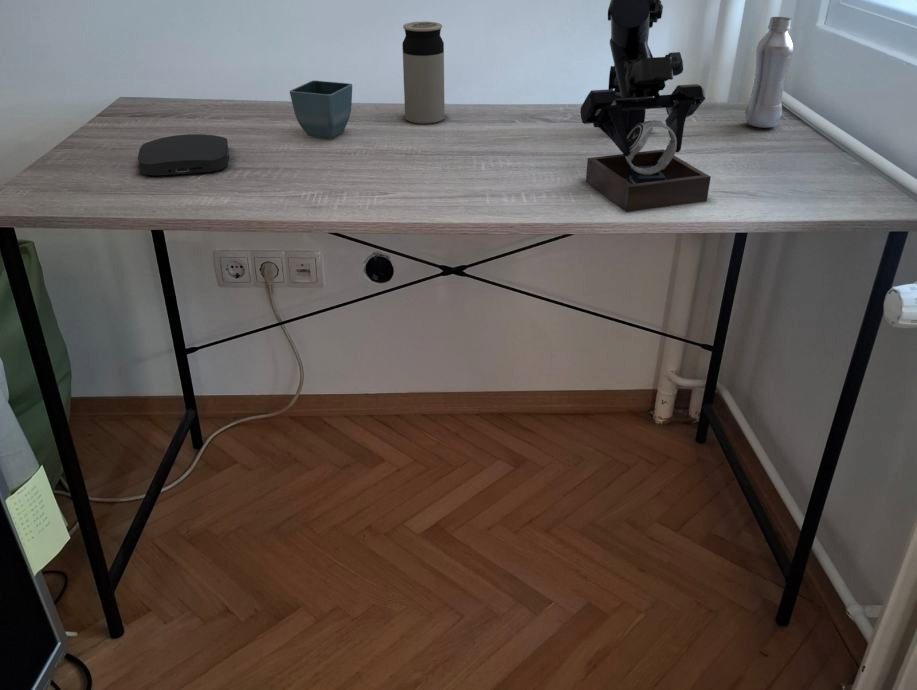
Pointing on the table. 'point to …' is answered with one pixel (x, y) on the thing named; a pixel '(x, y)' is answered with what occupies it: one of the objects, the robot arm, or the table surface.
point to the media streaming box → (183, 154)
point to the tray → (675, 190)
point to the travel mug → (423, 72)
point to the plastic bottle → (770, 74)
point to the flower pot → (322, 107)
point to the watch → (637, 142)
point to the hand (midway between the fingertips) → (653, 153)
